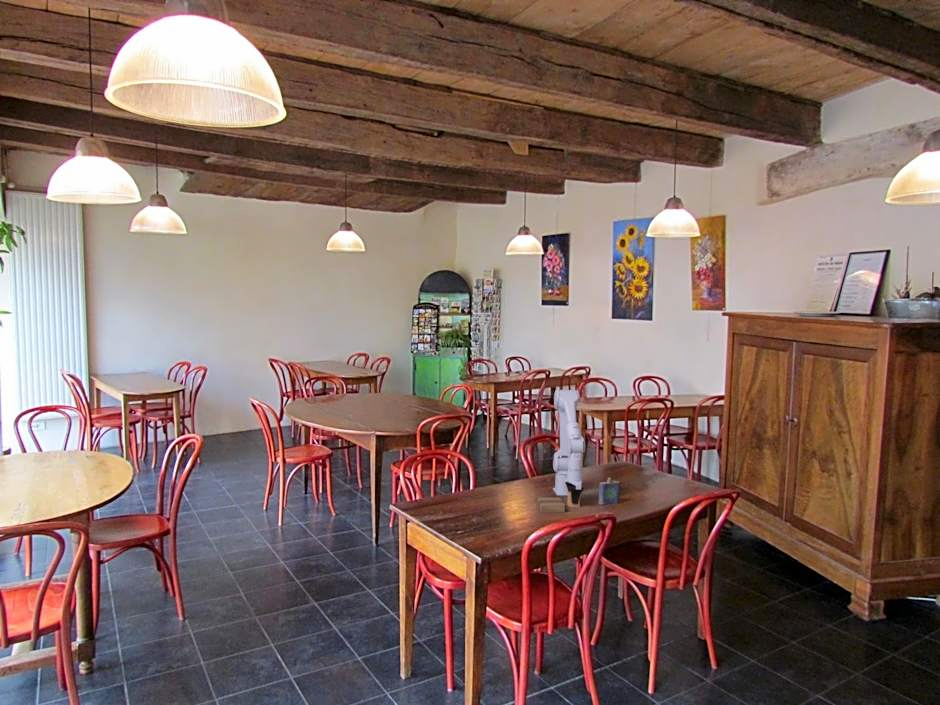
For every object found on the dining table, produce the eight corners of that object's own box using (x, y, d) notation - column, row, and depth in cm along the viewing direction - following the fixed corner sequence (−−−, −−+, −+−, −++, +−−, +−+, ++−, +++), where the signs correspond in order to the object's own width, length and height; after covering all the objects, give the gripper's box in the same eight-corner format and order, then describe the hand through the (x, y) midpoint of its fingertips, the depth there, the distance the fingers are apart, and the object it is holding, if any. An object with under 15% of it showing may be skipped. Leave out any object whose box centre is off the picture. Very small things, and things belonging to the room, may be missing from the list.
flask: (600, 505, 259) (601, 479, 258) (596, 503, 261) (597, 477, 260) (620, 504, 262) (621, 478, 261) (616, 501, 264) (617, 476, 263)
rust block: (567, 503, 260) (567, 491, 260) (577, 503, 260) (577, 491, 260) (569, 507, 256) (570, 494, 256) (579, 507, 256) (580, 494, 256)
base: (537, 504, 258) (537, 497, 257) (559, 504, 258) (559, 497, 258) (541, 512, 249) (541, 504, 248) (564, 512, 249) (564, 504, 249)
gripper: (561, 463, 264) (559, 496, 265) (569, 473, 249) (567, 507, 251) (578, 463, 264) (576, 496, 266) (587, 473, 250) (585, 507, 251)
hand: (573, 501), depth 258 cm, fingers closed on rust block, 4 cm apart
